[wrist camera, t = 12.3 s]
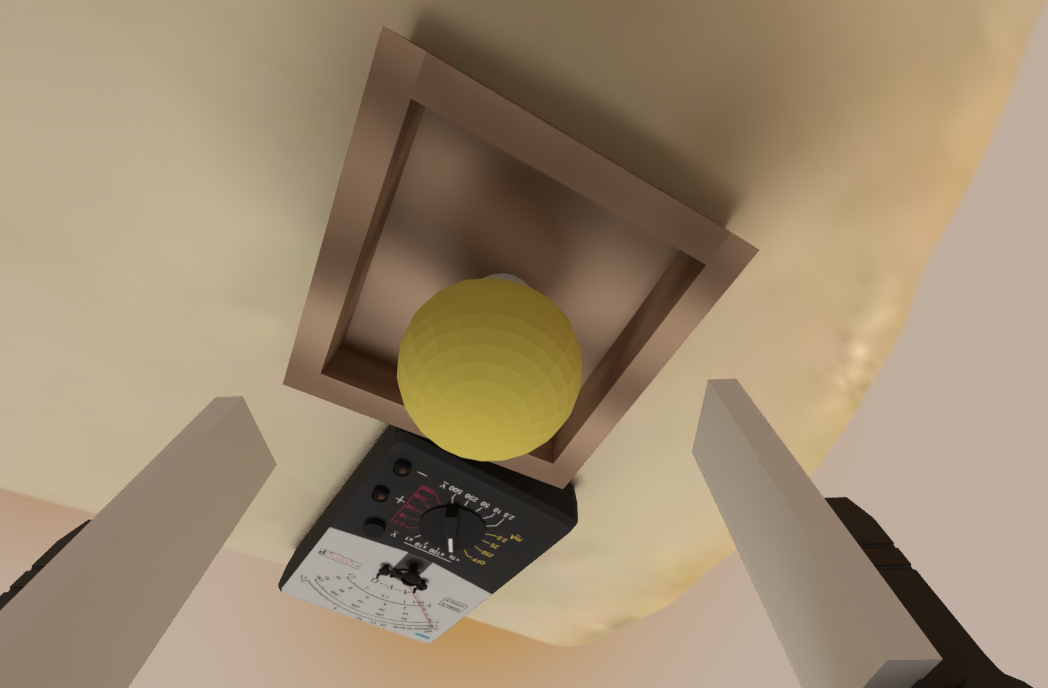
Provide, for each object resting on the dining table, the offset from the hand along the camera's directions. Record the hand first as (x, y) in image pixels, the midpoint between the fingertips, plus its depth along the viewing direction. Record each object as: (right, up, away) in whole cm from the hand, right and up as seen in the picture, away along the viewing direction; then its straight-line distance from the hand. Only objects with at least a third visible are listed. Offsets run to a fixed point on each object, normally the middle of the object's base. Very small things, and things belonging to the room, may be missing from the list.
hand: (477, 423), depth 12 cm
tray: (0, +5, +10) cm, 11 cm away
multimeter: (-6, -11, +19) cm, 23 cm away
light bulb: (0, +5, +9) cm, 10 cm away
